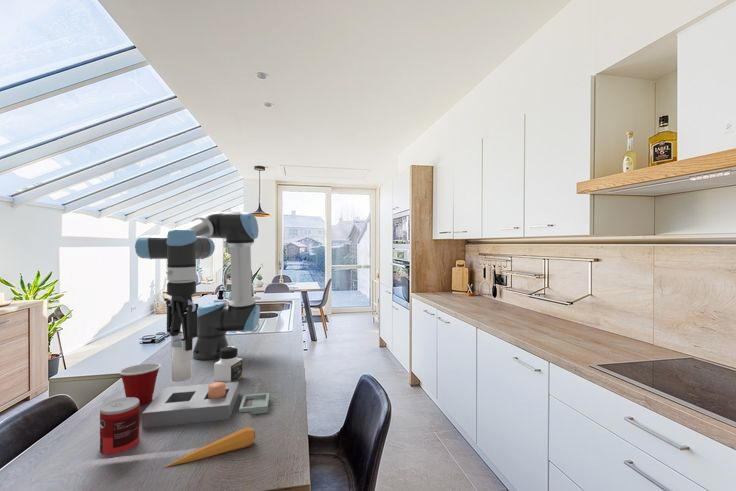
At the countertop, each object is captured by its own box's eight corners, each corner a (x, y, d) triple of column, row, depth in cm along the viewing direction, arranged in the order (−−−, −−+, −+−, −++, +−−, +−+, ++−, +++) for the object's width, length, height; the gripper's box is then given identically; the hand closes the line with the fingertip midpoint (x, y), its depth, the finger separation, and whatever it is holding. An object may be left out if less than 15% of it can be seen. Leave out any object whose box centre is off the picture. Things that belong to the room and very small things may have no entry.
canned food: (113, 439, 84) (113, 397, 84) (146, 438, 85) (146, 396, 85) (91, 459, 77) (91, 412, 77) (127, 457, 78) (127, 411, 77)
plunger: (210, 401, 102) (210, 382, 102) (227, 400, 103) (227, 381, 103) (206, 409, 97) (206, 389, 97) (223, 407, 98) (223, 387, 98)
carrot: (254, 442, 85) (252, 424, 86) (257, 445, 81) (254, 425, 83) (164, 476, 75) (163, 454, 77) (163, 480, 72) (161, 458, 73)
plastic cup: (163, 394, 110) (163, 358, 109) (157, 409, 100) (158, 370, 100) (123, 400, 105) (123, 363, 105) (113, 417, 95) (114, 376, 95)
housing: (165, 403, 104) (165, 387, 104) (238, 396, 109) (238, 381, 109) (142, 431, 88) (142, 412, 88) (229, 422, 93) (229, 405, 93)
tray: (243, 401, 106) (243, 395, 106) (269, 398, 107) (269, 392, 107) (238, 415, 97) (238, 408, 97) (267, 412, 99) (267, 406, 99)
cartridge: (167, 379, 97) (168, 342, 97) (185, 373, 101) (185, 337, 101) (177, 383, 94) (177, 345, 94) (195, 377, 99) (195, 340, 98)
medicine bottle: (231, 384, 118) (231, 351, 118) (213, 382, 119) (213, 350, 119) (242, 376, 125) (242, 345, 125) (225, 375, 126) (226, 344, 126)
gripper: (153, 280, 99) (153, 356, 99) (185, 285, 89) (185, 369, 90) (178, 277, 105) (178, 349, 106) (211, 282, 96) (211, 361, 96)
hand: (181, 358), depth 98 cm, fingers closed on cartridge, 5 cm apart
